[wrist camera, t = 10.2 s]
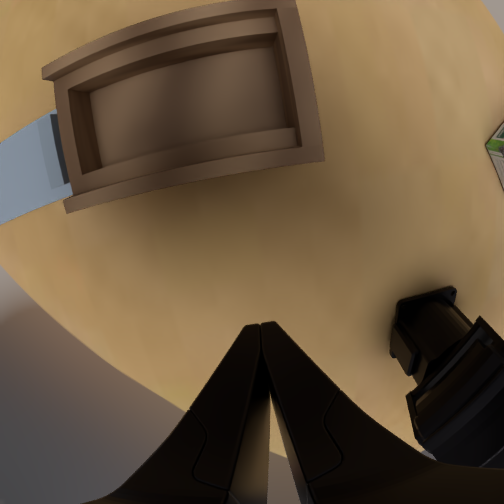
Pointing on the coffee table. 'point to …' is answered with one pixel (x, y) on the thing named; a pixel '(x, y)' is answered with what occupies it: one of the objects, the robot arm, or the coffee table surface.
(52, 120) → the cover plate
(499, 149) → the syrup box
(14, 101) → the coffee table surface
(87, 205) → the pencil box
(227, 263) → the coffee table surface
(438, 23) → the coffee table surface
